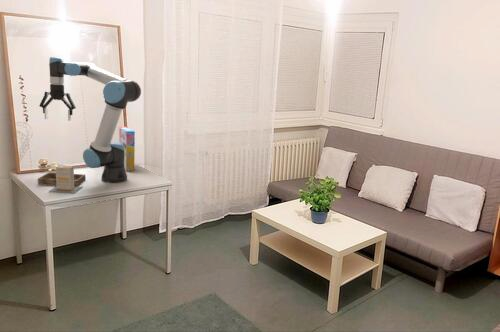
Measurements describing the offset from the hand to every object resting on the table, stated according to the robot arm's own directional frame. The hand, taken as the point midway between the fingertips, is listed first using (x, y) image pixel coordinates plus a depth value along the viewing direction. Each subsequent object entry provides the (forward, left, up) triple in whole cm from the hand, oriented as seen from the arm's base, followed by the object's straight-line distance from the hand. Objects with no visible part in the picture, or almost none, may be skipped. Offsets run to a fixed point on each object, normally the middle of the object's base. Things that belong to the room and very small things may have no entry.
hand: (58, 119), depth 257 cm
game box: (-35, -27, -35) cm, 56 cm away
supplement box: (-14, +29, -34) cm, 47 cm away
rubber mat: (-14, +29, -35) cm, 48 cm away
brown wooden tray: (-7, +15, -35) cm, 39 cm away
